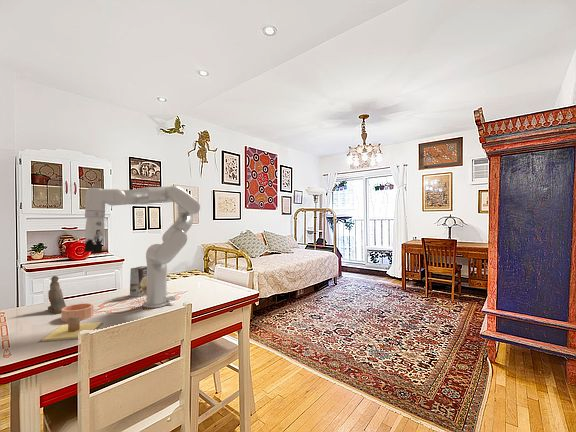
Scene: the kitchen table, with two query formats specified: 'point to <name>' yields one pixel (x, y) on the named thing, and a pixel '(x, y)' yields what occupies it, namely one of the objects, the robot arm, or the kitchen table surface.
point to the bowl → (77, 311)
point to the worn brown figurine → (55, 296)
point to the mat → (66, 339)
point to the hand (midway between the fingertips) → (92, 252)
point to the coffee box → (138, 281)
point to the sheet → (69, 335)
